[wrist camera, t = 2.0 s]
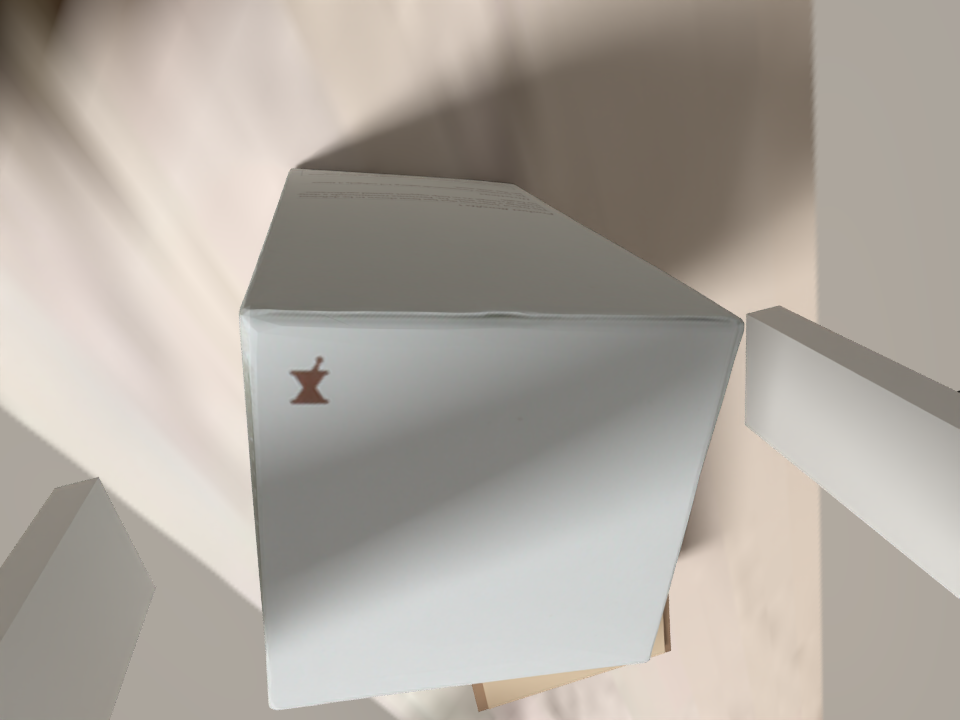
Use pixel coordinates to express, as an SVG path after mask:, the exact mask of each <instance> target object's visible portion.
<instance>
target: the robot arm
mask: <svg viewBox="0 0 960 720" xmlns="http://www.w3.org/2000/svg"><path fill="white" fill-rule="evenodd" d="M745 425H746V426H747V427H748V428H749V429H751V430H752V431H753V432H754V433H756V434H757V435H758V436H759V437H761V438H762V439H763V440H764V441H765V442H767V443H768V444H769V445H770V446H772V447H773V448H774V449H775V450H777V451H778V452H779V453H780V454H781V455H783V456H784V457H785V458H786V459H788V460H789V461H790V462H791V463H793V464H794V465H795V466H796V467H797V468H799V469H800V470H801V471H802V472H804V473H805V474H806V475H807V476H809V477H810V478H811V479H812V480H813V481H815V482H816V483H817V484H818V485H820V486H821V487H822V488H823V489H825V490H826V491H827V492H828V493H830V494H831V495H832V496H833V497H835V498H836V499H837V500H838V501H839V502H841V503H842V504H843V505H844V506H846V507H847V508H848V509H849V510H850V511H852V512H853V513H854V514H855V515H857V516H858V517H859V518H860V519H862V520H863V521H864V522H865V523H866V524H868V525H869V526H870V527H871V528H873V529H874V530H875V531H876V532H877V533H879V534H880V535H881V536H882V537H884V538H885V539H886V540H887V541H889V542H890V543H891V544H892V545H893V546H895V547H896V548H897V549H898V550H900V551H901V552H902V553H903V554H905V555H906V556H907V557H908V558H910V559H911V560H912V561H913V562H914V563H916V564H917V565H918V566H920V567H921V568H922V569H923V570H924V571H926V572H927V573H928V574H929V575H931V576H932V577H933V578H934V579H935V580H937V581H938V582H939V583H941V585H943V586H944V587H945V588H946V589H948V590H949V591H950V592H951V593H953V594H954V595H955V596H956V597H957V598H959V599H960V391H955V390H953V389H951V388H949V387H946V386H944V385H942V384H940V383H938V382H936V381H934V380H932V379H930V378H928V377H926V376H924V375H921V374H919V373H917V372H915V371H913V370H911V369H909V368H907V367H905V366H903V365H901V364H899V363H897V362H895V361H893V360H891V359H889V358H887V357H884V356H882V355H880V354H878V353H876V352H874V351H872V350H870V349H868V348H866V347H864V346H862V345H860V344H858V343H856V342H854V341H852V340H849V339H847V338H845V337H843V336H841V335H839V334H837V333H835V332H833V331H831V330H829V329H827V328H825V327H823V326H821V325H819V324H816V323H814V322H812V321H810V320H808V319H806V318H804V317H802V316H800V315H798V314H796V313H794V312H792V311H790V310H788V309H785V308H783V307H781V306H776V307H772V308H768V309H764V310H760V311H756V312H752V313H748V314H747V315H746V386H745ZM155 588H156V587H155V585H154V583H153V581H152V579H151V577H150V575H149V574H148V572H147V570H146V568H145V566H144V564H143V562H142V560H141V558H140V556H139V554H138V552H137V550H136V548H135V546H134V545H133V543H132V541H131V539H130V537H129V535H128V533H127V531H126V529H125V527H124V525H123V523H122V521H121V520H120V518H119V516H118V514H117V512H116V510H115V508H114V506H113V504H112V502H111V500H110V498H109V496H108V494H107V492H106V490H105V489H104V487H103V485H102V483H101V481H100V479H99V477H97V478H93V479H89V480H85V481H81V482H77V483H73V484H69V485H65V486H61V487H57V488H55V489H54V490H53V492H52V493H51V495H50V496H49V498H48V499H47V501H46V502H45V504H44V505H43V506H42V508H41V509H40V511H39V512H38V514H37V515H36V517H35V518H34V519H33V521H32V522H31V524H30V526H29V527H28V528H27V530H26V531H25V533H24V534H23V535H22V537H21V538H20V540H19V541H18V543H17V544H16V546H15V547H14V549H13V550H12V551H11V553H10V554H9V556H8V557H7V559H6V560H5V562H4V563H3V565H2V566H1V568H0V720H110V717H111V715H112V711H113V709H114V706H115V703H116V700H117V697H118V694H119V692H120V689H121V686H122V683H123V680H124V677H125V674H126V672H127V668H128V666H129V663H130V660H131V657H132V654H133V651H134V649H135V646H136V643H137V640H138V637H139V634H140V631H141V628H142V626H143V623H144V620H145V617H146V614H147V611H148V608H149V605H150V602H151V600H152V597H153V594H154V591H155Z"/></svg>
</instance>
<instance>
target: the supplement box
mask: <svg viewBox="0 0 960 720" xmlns="http://www.w3.org/2000/svg"><path fill="white" fill-rule="evenodd" d="M239 324H240V338H241V351H242V363H243V376H244V389H245V401H246V414H247V427H248V441H249V454H250V468H251V481H252V493H253V506H254V518H255V530H256V542H257V554H258V567H259V578H260V590H261V601H262V612H263V624H264V635H265V647H266V663H267V664H266V666H267V681H268V699H269V707H270V708H272V709H274V710H282V709H290V708H297V707H304V706H312V705H319V704H326V703H332V702H339V701H347V700H354V699H362V698H369V697H376V696H383V695H391V694H399V693H407V692H415V691H422V690H430V689H438V688H446V687H454V686H462V685H469V684H477V683H485V682H493V681H501V680H509V679H516V678H524V677H532V676H540V675H548V674H556V673H564V672H572V671H580V670H588V669H597V668H605V667H614V666H622V665H631V664H639V663H646V662H647V661H649V660H650V657H651V654H652V650H653V646H654V643H655V639H656V636H657V632H658V629H659V625H660V622H661V618H662V614H663V611H664V607H665V604H666V600H667V596H668V593H669V589H670V585H671V581H672V577H673V574H674V570H675V567H676V563H677V560H678V556H679V553H680V549H681V545H682V542H683V538H684V534H685V531H686V527H687V523H688V520H689V516H690V512H691V508H692V504H693V500H694V496H695V492H696V488H697V485H698V481H699V477H700V473H701V470H702V467H703V463H704V460H705V457H706V454H707V450H708V447H709V444H710V441H711V437H712V434H713V431H714V428H715V424H716V421H717V418H718V415H719V411H720V408H721V405H722V401H723V398H724V395H725V391H726V388H727V385H728V381H729V378H730V374H731V371H732V367H733V364H734V360H735V357H736V354H737V351H738V347H739V344H740V341H741V338H742V335H743V332H744V322H743V320H742V319H741V318H739V317H738V316H736V315H734V314H733V313H731V312H729V311H728V310H726V309H725V308H723V307H721V306H720V305H718V304H717V303H715V302H713V301H712V300H710V299H708V298H707V297H705V296H704V295H702V294H700V293H699V292H697V291H695V290H694V289H692V288H691V287H689V286H687V285H685V284H684V283H682V282H680V281H679V280H677V279H675V278H674V277H672V276H670V275H669V274H667V273H665V272H664V271H662V270H660V269H659V268H657V267H655V266H653V265H652V264H650V263H648V262H646V261H645V260H643V259H641V258H639V257H638V256H636V255H634V254H632V253H631V252H629V251H627V250H626V249H624V248H622V247H620V246H619V245H617V244H615V243H613V242H612V241H610V240H608V239H606V238H604V237H603V236H601V235H599V234H597V233H596V232H594V231H592V230H590V229H589V228H587V227H585V226H583V225H582V224H580V223H578V222H577V221H575V220H573V219H572V218H570V217H568V216H567V215H565V214H563V213H561V212H560V211H558V210H556V209H555V208H553V207H551V206H549V205H548V204H546V203H544V202H542V201H541V200H540V199H538V198H537V197H535V196H533V195H531V194H530V193H528V192H526V191H525V190H523V189H521V188H520V187H518V186H517V185H515V184H508V183H499V182H489V181H478V180H465V179H452V178H438V177H422V176H406V175H391V174H375V173H359V172H343V171H327V170H309V169H296V168H293V169H291V170H290V171H289V173H288V176H287V178H286V182H285V185H284V188H283V190H282V193H281V196H280V199H279V202H278V205H277V208H276V210H275V213H274V216H273V219H272V222H271V224H270V227H269V230H268V233H267V236H266V239H265V241H264V244H263V247H262V250H261V253H260V255H259V258H258V261H257V264H256V267H255V270H254V272H253V275H252V278H251V281H250V284H249V287H248V289H247V292H246V294H245V297H244V300H243V302H242V305H241V307H240V312H239Z"/></svg>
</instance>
